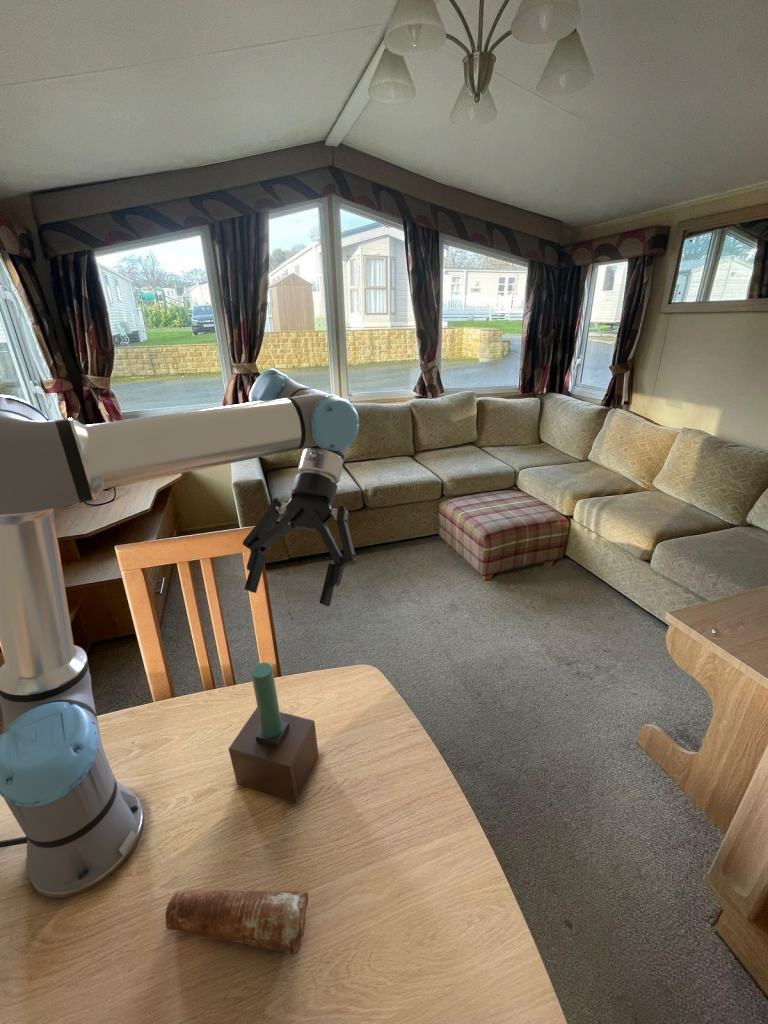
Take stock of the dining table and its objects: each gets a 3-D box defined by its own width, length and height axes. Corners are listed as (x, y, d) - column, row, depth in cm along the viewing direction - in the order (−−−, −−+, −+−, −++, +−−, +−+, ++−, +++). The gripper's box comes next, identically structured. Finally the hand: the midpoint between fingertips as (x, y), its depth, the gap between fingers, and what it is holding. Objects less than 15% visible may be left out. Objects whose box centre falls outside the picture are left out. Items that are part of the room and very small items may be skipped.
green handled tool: (256, 740, 79) (243, 676, 73) (268, 721, 82) (257, 658, 76) (277, 746, 78) (266, 682, 71) (289, 727, 81) (279, 663, 75)
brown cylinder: (302, 965, 60) (297, 942, 57) (160, 938, 63) (150, 916, 60) (316, 906, 65) (312, 883, 63) (185, 884, 68) (177, 861, 66)
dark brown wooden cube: (237, 785, 81) (228, 748, 78) (264, 740, 89) (257, 705, 85) (295, 803, 78) (289, 766, 74) (318, 756, 86) (314, 720, 82)
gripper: (245, 464, 85) (208, 581, 79) (379, 477, 78) (350, 607, 72) (265, 480, 92) (232, 589, 86) (389, 494, 85) (364, 614, 79)
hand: (286, 598), depth 79 cm, fingers open, 13 cm apart
